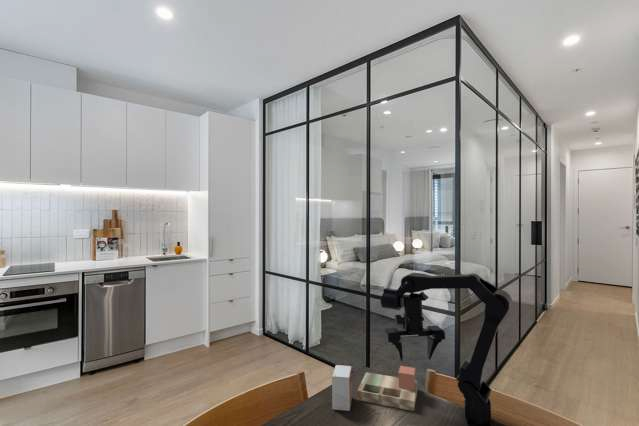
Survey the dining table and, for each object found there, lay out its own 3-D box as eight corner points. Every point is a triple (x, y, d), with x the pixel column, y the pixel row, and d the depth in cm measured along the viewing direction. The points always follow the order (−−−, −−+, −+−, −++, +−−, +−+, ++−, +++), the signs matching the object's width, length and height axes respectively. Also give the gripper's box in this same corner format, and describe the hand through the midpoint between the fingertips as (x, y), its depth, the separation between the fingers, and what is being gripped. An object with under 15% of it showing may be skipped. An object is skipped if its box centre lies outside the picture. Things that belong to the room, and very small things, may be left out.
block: (415, 382, 110) (415, 368, 110) (414, 390, 106) (414, 375, 106) (400, 380, 112) (400, 365, 112) (398, 387, 108) (398, 372, 108)
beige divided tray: (417, 389, 112) (417, 380, 112) (414, 411, 99) (414, 401, 99) (366, 380, 118) (366, 372, 118) (357, 399, 106) (357, 390, 106)
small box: (349, 411, 100) (349, 377, 100) (332, 409, 101) (331, 376, 101) (352, 397, 107) (352, 365, 107) (335, 395, 109) (335, 364, 109)
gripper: (431, 304, 114) (433, 348, 114) (379, 306, 113) (381, 351, 113) (445, 313, 103) (447, 362, 103) (387, 316, 102) (389, 365, 102)
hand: (415, 360), depth 105 cm, fingers open, 9 cm apart
